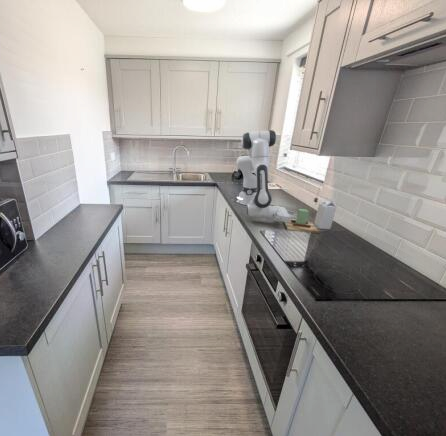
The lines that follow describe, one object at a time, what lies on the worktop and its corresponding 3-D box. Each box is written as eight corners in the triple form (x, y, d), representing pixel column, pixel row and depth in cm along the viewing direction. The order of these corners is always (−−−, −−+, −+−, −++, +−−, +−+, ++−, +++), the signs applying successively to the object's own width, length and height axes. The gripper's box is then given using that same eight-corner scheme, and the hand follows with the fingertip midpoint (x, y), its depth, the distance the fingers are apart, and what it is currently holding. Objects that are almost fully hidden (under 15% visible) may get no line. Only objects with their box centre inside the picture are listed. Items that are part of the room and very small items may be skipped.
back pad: (295, 223, 150) (298, 208, 147) (303, 224, 149) (307, 209, 145) (296, 225, 146) (300, 210, 143) (305, 226, 145) (308, 211, 142)
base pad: (282, 220, 158) (283, 216, 157) (311, 224, 154) (312, 219, 153) (286, 229, 143) (287, 225, 142) (318, 233, 139) (319, 228, 138)
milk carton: (324, 225, 152) (332, 197, 145) (330, 229, 145) (338, 200, 139) (313, 224, 152) (320, 197, 146) (318, 229, 146) (326, 200, 139)
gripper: (275, 213, 139) (299, 215, 136) (271, 204, 158) (292, 206, 155) (273, 222, 142) (297, 225, 138) (269, 212, 160) (291, 214, 157)
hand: (295, 215), depth 147 cm, fingers open, 8 cm apart
